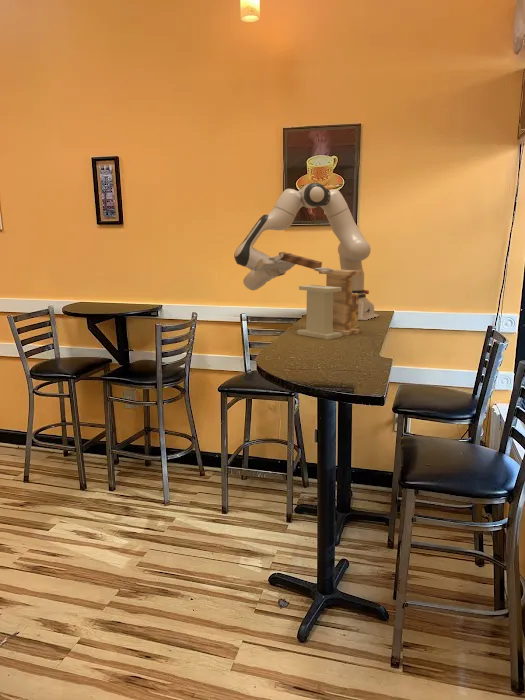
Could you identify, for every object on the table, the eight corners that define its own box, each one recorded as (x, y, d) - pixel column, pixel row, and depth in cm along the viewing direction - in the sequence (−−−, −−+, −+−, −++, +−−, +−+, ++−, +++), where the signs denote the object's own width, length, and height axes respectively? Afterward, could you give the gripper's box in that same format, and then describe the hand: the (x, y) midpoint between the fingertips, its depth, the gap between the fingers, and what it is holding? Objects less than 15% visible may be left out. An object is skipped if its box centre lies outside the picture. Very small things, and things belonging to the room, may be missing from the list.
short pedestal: (311, 331, 229) (312, 284, 225) (342, 336, 217) (343, 287, 213) (296, 333, 223) (297, 286, 219) (327, 339, 211) (328, 289, 207)
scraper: (276, 259, 233) (276, 252, 232) (285, 258, 237) (286, 251, 236) (323, 272, 215) (324, 265, 214) (332, 271, 219) (333, 264, 218)
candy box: (358, 327, 238) (359, 293, 235) (355, 329, 234) (356, 294, 231) (339, 326, 242) (340, 292, 239) (336, 327, 238) (337, 293, 235)
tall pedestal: (329, 327, 237) (331, 269, 232) (360, 332, 225) (362, 270, 219) (316, 330, 231) (317, 270, 226) (346, 335, 219) (348, 271, 213)
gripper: (248, 264, 236) (266, 248, 225) (281, 262, 249) (300, 247, 239) (253, 276, 234) (271, 262, 224) (286, 274, 248) (305, 260, 238)
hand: (286, 254), depth 232 cm, fingers closed on scraper, 3 cm apart
